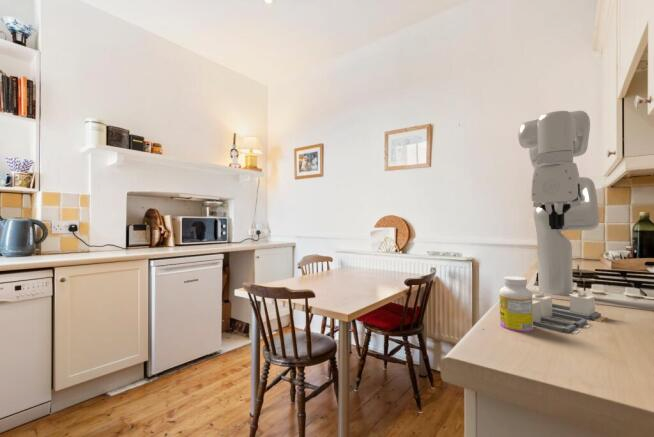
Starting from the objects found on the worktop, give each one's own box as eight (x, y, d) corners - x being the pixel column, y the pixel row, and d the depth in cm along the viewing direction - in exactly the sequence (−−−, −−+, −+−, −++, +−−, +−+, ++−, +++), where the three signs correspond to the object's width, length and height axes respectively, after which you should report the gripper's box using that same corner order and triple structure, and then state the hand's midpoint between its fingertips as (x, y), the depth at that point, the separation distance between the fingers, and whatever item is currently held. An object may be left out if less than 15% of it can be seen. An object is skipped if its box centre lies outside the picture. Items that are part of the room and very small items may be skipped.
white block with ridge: (535, 312, 85) (534, 291, 85) (552, 316, 81) (551, 294, 81) (527, 315, 82) (527, 294, 82) (545, 319, 79) (544, 297, 79)
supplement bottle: (502, 325, 79) (501, 274, 79) (533, 330, 75) (532, 276, 75) (498, 333, 73) (497, 278, 74) (532, 339, 70) (531, 281, 70)
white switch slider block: (576, 312, 84) (575, 291, 84) (595, 315, 81) (594, 294, 81) (570, 314, 82) (569, 293, 82) (589, 318, 79) (588, 296, 79)
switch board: (544, 308, 93) (543, 285, 93) (610, 321, 80) (609, 295, 80) (504, 323, 81) (503, 296, 81) (574, 341, 68) (573, 310, 68)
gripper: (518, 163, 88) (520, 229, 88) (584, 154, 75) (586, 231, 76) (531, 164, 92) (532, 227, 93) (595, 156, 79) (597, 228, 80)
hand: (556, 228), depth 84 cm, fingers closed
